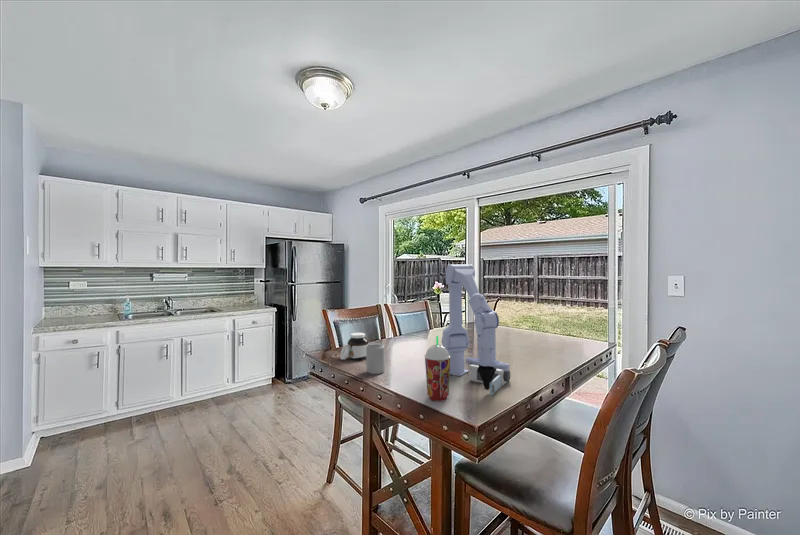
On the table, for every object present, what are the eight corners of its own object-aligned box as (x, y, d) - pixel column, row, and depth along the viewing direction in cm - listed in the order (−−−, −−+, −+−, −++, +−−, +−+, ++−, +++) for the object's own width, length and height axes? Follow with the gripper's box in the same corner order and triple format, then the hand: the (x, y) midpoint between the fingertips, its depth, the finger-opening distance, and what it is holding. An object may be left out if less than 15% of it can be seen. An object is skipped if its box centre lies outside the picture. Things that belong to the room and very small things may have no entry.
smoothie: (455, 401, 107) (454, 337, 107) (430, 404, 105) (429, 339, 105) (444, 392, 115) (443, 333, 116) (421, 395, 113) (420, 334, 113)
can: (373, 376, 134) (373, 345, 134) (362, 372, 139) (362, 342, 139) (388, 372, 139) (388, 342, 139) (377, 368, 144) (377, 340, 144)
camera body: (469, 380, 127) (469, 364, 127) (478, 374, 134) (478, 359, 134) (504, 387, 119) (504, 369, 119) (512, 381, 126) (512, 364, 126)
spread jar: (371, 358, 160) (371, 333, 160) (353, 363, 152) (352, 337, 152) (354, 354, 168) (354, 331, 168) (336, 359, 160) (335, 334, 160)
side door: (493, 395, 111) (493, 383, 111) (489, 394, 111) (489, 383, 111) (503, 385, 120) (503, 374, 120) (499, 385, 120) (498, 374, 120)
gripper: (461, 347, 115) (462, 387, 115) (504, 353, 106) (504, 397, 106) (470, 343, 120) (471, 382, 120) (511, 348, 112) (512, 390, 112)
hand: (487, 388), depth 114 cm, fingers closed
